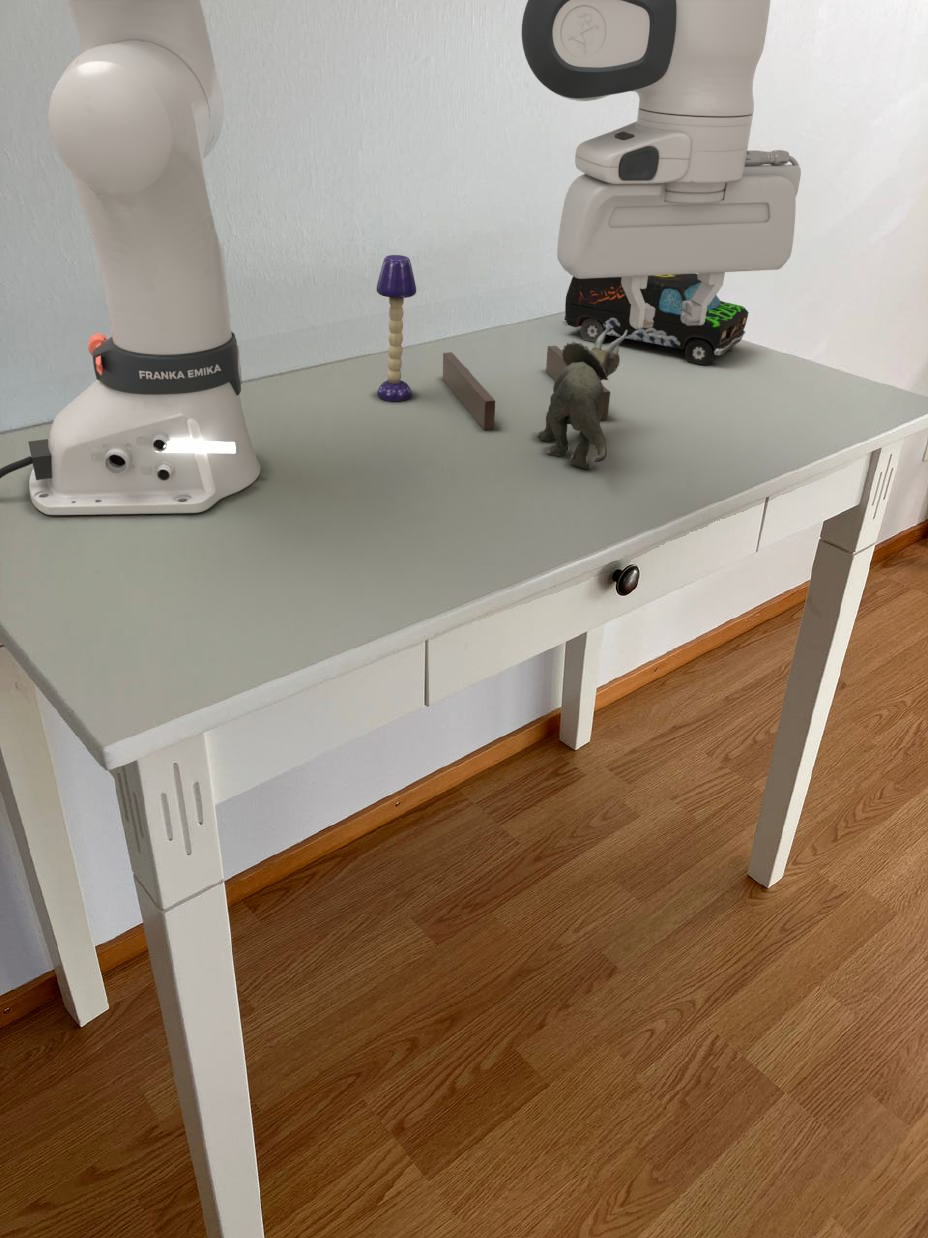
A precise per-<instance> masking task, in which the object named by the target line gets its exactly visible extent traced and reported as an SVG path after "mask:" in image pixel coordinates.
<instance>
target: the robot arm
mask: <svg viewBox="0 0 928 1238" xmlns="http://www.w3.org/2000/svg"><path fill="white" fill-rule="evenodd" d="M66 3H67V6H68V8H69V10H70V13H71V16H72V19H73V22H74V24H75V26H76V27H75V28H76V30H77V34H78V37H79V39H80V42H81V45H82V49H83V52H82V53H80V54H79V55H78V56H76V57H75V58H74V59H73V60H72V61H71V62H70V63H69V65H68V66H67V67H66V68H65V70H64V71H63V72H62V74H61V75H60V77H59V79H58V81H57V83H56V84H55V87H54V88H53V91H52V93H51V96H50V99H49V104H48V114H47V116H48V117H47V118H48V127H49V128H48V129H49V132H50V136H51V140H52V143H53V145H54V147H55V151H56V152H57V154H58V155H59V157H60V159H61V160H62V162H63V163H64V165H65V166H66V167H67V169H68V170H69V171H70V173H71V176H72V180H73V183H74V185H75V186H74V187H75V189H76V193H77V196H78V198H79V201H80V204H81V207H82V210H83V212H84V215H85V218H86V221H87V224H88V226H89V229H90V232H91V235H92V238H93V243H94V245H95V248H96V252H97V256H98V260H99V265H100V270H101V276H102V282H103V283H102V284H103V289H104V295H105V301H106V306H107V307H106V308H107V313H108V319H109V325H110V331H111V337H109V338H108V337H106V335H105V334H103V333H94V334H92V335H91V336H90V338H89V339H88V346H87V347H88V353H89V354H90V355H91V357H92V363H93V370H94V375H95V378H96V379H95V380H94V381H93V382H92V383H91V384H90V385H89V386H88V387H87V388H85V389H84V390H83V391H82V392H81V393H80V394H79V395H77V396H76V397H75V398H73V400H72V401H71V402H69V403H67V405H66V406H64V407H63V408H62V409H61V410H60V411H59V412H58V413H57V415H56V416H55V418H54V420H53V421H52V424H51V427H50V429H49V434H48V438H46V439H36V440H29V441H28V448H29V452H30V455H29V456H26V457H25V458H23V459H20V460H17V461H14V462H12V463H10V464H9V463H8V464H7V465H5V466H3V467H0V479H2V478H3V477H6V475H8V474H10V473H12V472H14V471H17V470H20V469H23V468H26V467H28V466H30V465H32V467H33V468H32V470H31V472H30V475H29V479H28V480H29V481H28V489H29V496H30V498H29V499H30V500H31V503H32V504H33V507H35V508H36V509H37V511H40V512H41V513H42V514H45V515H48V516H85V515H86V516H89V515H147V514H148V515H149V514H153V515H154V514H198V513H202V512H204V511H207V510H208V509H210V508H212V507H213V506H214V505H215V504H216V503H217V502H218V501H220V500H221V499H223V498H226V497H229V496H231V495H233V494H235V493H238V492H240V491H242V490H244V489H246V488H248V487H249V486H250V485H252V484H253V483H254V482H255V481H256V480H257V479H258V477H259V475H260V473H261V464H260V462H259V460H258V457H257V456H256V452H255V450H254V447H253V444H252V440H251V438H250V434H249V431H248V427H247V424H246V420H245V415H244V411H243V406H242V401H241V395H240V393H241V391H242V384H243V381H242V380H243V379H242V378H243V377H242V366H241V355H240V348H239V347H240V346H239V344H238V340H237V337H236V334H235V332H233V331H232V325H231V312H230V303H229V292H228V291H229V289H228V280H227V267H226V260H225V251H224V249H223V248H224V247H223V245H222V244H221V242H220V239H219V236H218V232H217V229H216V225H215V221H214V216H213V211H212V208H211V204H210V199H209V194H208V190H207V184H206V179H205V173H204V159H205V158H206V157H207V156H208V155H209V154H210V153H211V152H212V150H213V149H214V148H215V146H216V145H217V142H218V141H219V138H220V135H221V132H222V128H223V124H224V123H223V122H224V100H223V94H222V90H221V87H220V83H219V79H218V74H217V68H216V65H215V64H216V63H215V58H214V54H213V49H212V45H211V41H210V36H209V30H208V26H207V23H206V18H205V15H204V11H203V6H202V1H201V0H66ZM770 7H771V0H527V3H526V5H525V7H524V10H523V11H524V12H523V14H522V15H523V16H522V21H521V44H522V49H523V53H524V56H525V59H526V62H527V64H528V67H529V68H530V71H531V72H532V74H533V75H534V77H535V78H536V79H537V80H538V81H539V82H540V84H542V85H543V86H544V87H545V88H547V90H549V91H551V92H552V93H554V94H556V95H558V96H559V97H561V98H565V99H567V100H570V101H576V102H577V101H578V102H591V101H596V100H597V101H598V100H601V99H604V98H607V97H608V96H613V95H617V94H624V93H627V92H628V93H629V92H635V93H636V94H637V95H638V97H639V99H638V100H639V101H638V109H637V117H636V121H634V122H631V123H629V124H626V125H624V126H621V127H620V128H616V129H614V130H612V131H609V132H607V133H603V134H601V135H598V136H595V137H593V138H590V139H587V140H585V141H582V142H581V143H579V144H578V145H577V147H576V149H575V155H574V163H575V167H576V169H577V170H578V171H580V172H581V173H583V174H581V175H580V176H577V177H576V178H575V179H574V180H573V181H572V182H571V184H570V186H569V188H568V190H567V192H566V195H565V198H564V202H563V207H562V212H561V217H560V221H559V230H558V238H557V239H558V240H557V249H556V250H557V251H556V256H557V260H558V263H559V264H560V266H561V267H562V269H563V270H564V271H565V272H566V273H568V274H569V275H571V276H572V277H573V276H574V277H575V278H578V279H588V278H609V277H622V279H621V284H622V287H623V289H624V291H625V293H626V296H627V298H628V300H629V302H630V304H631V311H630V325H631V326H632V327H634V328H635V329H641V328H652V327H653V324H654V321H653V318H654V316H655V308H654V307H652V306H650V305H649V304H648V303H645V302H644V299H643V296H642V294H641V291H640V288H641V289H645V288H646V287H647V280H648V276H652V275H673V274H698V276H697V278H698V280H700V281H702V282H701V284H700V286H699V287H698V289H697V291H696V292H695V294H694V296H693V297H692V299H691V300H689V301H683V303H682V310H683V312H682V313H681V321H682V323H684V324H686V325H687V326H691V325H703V324H704V322H705V317H706V311H707V305H709V304H710V303H711V301H712V300H713V298H714V297H715V296H716V295H717V294H719V291H720V290H721V289H722V287H723V285H724V281H725V275H726V274H725V273H735V272H736V273H738V272H757V271H777V270H778V271H779V270H781V269H782V268H783V267H784V265H786V263H787V262H788V261H789V259H790V258H791V255H792V252H793V251H792V250H793V243H794V236H795V228H796V227H795V226H796V207H797V206H796V204H797V202H796V201H797V200H796V199H797V195H798V191H799V188H800V183H801V178H802V177H801V176H802V170H801V167H800V164H799V163H798V161H797V159H796V158H795V157H793V156H791V155H790V152H789V151H786V150H784V149H782V150H781V149H776V150H772V151H764V150H749V149H748V147H749V142H750V138H751V137H750V135H751V130H752V124H753V118H754V111H755V101H754V100H755V99H754V89H753V88H754V78H755V73H756V71H757V70H756V69H757V67H758V64H759V62H760V59H761V57H762V55H763V52H764V49H765V43H766V37H767V30H768V24H769V15H770ZM788 163H790V164H788Z"/></svg>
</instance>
